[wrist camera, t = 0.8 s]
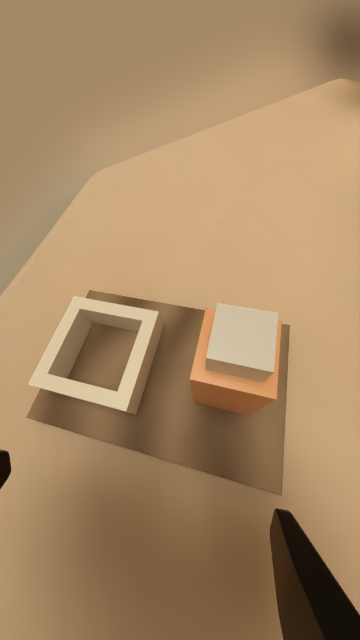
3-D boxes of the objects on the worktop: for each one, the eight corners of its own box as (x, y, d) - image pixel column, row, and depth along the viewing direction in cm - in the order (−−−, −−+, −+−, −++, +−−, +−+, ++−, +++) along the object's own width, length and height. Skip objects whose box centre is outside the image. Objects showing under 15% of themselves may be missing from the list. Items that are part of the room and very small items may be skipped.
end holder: (163, 325, 24) (158, 311, 21) (136, 414, 20) (126, 411, 17) (87, 310, 25) (74, 296, 23) (49, 391, 22) (27, 384, 19)
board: (285, 330, 24) (289, 325, 23) (276, 491, 18) (281, 495, 17) (93, 295, 28) (89, 290, 27) (34, 418, 22) (26, 417, 21)
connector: (251, 365, 21) (293, 303, 11) (245, 415, 19) (290, 392, 10) (204, 355, 22) (206, 289, 12) (194, 402, 20) (187, 369, 10)
